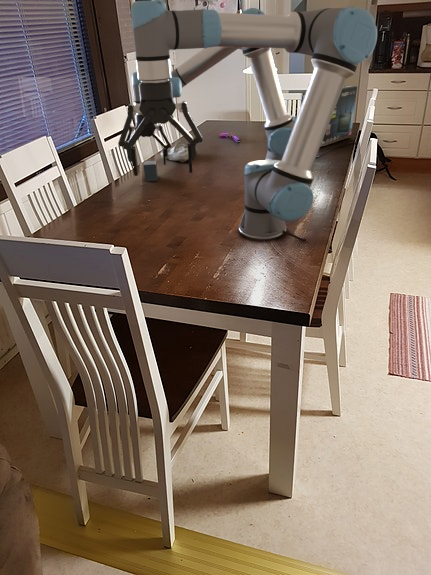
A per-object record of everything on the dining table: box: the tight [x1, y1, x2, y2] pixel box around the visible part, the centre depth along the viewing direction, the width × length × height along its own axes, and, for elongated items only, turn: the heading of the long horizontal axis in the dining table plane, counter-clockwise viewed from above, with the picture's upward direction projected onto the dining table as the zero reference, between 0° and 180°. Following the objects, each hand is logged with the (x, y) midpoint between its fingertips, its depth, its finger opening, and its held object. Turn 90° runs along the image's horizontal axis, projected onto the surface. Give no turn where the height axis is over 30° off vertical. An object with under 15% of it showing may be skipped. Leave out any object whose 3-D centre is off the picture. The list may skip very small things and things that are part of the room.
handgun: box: [219, 132, 241, 144], centre depth 258 cm, size 21×8×2 cm, turn 11°
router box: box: [300, 84, 358, 145], centre depth 238 cm, size 36×11×27 cm, turn 134°
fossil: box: [160, 142, 199, 163], centre depth 229 cm, size 18×11×15 cm
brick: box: [142, 160, 159, 182], centre depth 200 cm, size 5×6×7 cm
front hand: (163, 172), depth 115 cm, fingers open, 13 cm apart
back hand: (149, 164), depth 199 cm, fingers open, 13 cm apart
